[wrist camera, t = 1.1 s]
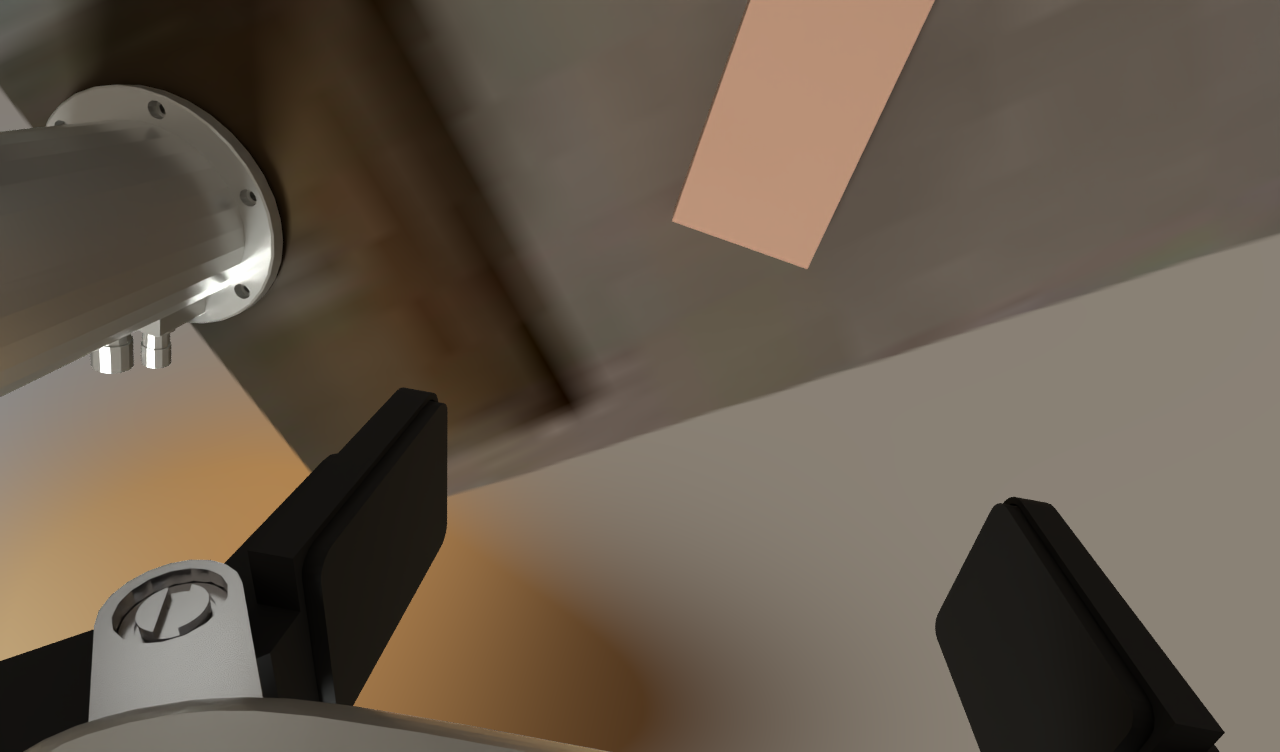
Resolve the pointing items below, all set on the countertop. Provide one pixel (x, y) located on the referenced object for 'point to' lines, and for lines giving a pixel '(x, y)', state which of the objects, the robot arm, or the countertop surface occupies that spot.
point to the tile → (794, 119)
